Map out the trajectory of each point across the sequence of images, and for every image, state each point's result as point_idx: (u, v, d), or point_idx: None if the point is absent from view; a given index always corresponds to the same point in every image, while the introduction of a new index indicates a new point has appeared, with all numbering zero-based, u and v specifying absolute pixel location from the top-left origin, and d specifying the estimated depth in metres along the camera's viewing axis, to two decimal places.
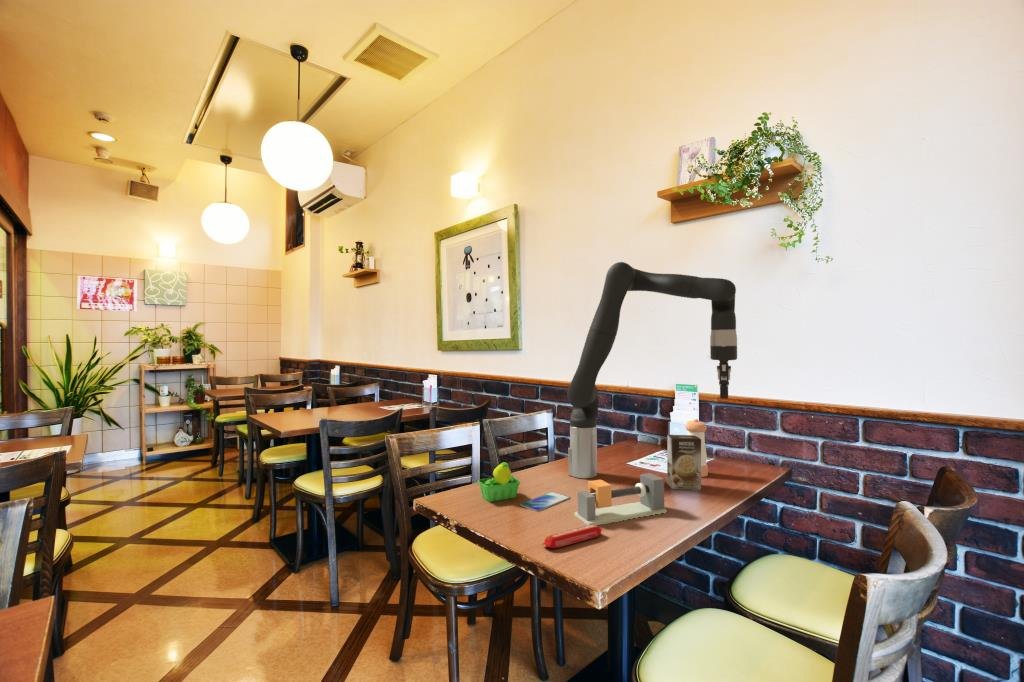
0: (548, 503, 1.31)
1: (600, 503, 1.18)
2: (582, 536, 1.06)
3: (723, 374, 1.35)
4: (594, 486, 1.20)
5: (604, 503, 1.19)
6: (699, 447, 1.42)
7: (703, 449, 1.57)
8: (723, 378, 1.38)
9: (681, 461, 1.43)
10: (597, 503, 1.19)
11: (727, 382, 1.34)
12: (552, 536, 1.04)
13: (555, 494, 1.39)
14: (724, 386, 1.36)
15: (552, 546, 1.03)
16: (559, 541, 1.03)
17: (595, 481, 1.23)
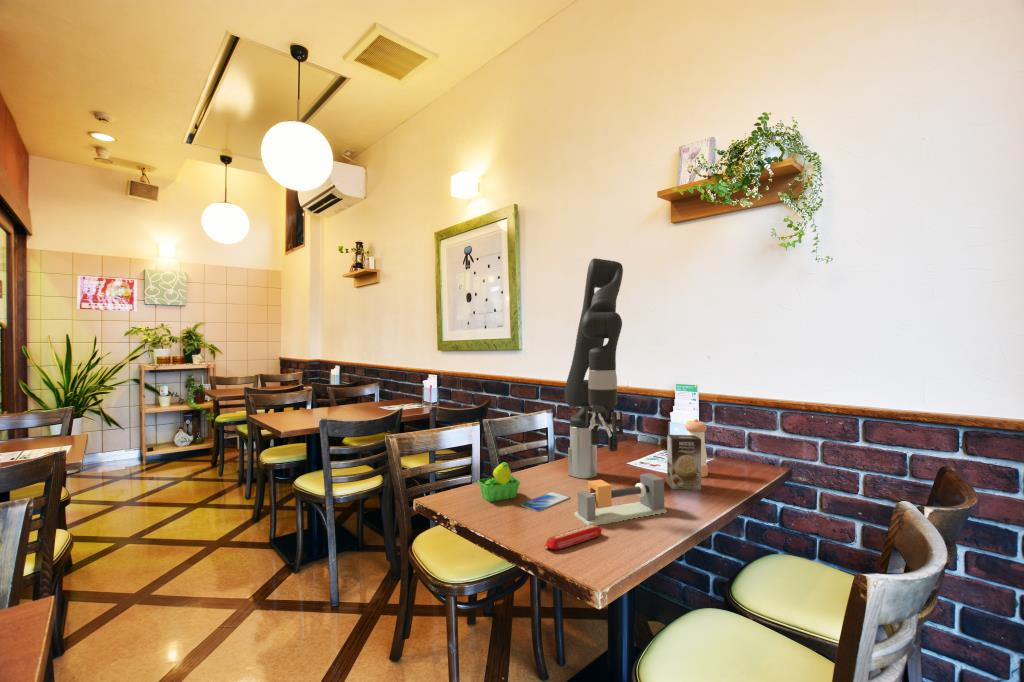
0: (548, 503, 1.31)
1: (600, 503, 1.18)
2: (583, 536, 1.06)
3: None
4: (594, 486, 1.20)
5: (604, 503, 1.19)
6: (699, 447, 1.42)
7: (703, 449, 1.57)
8: None
9: (681, 461, 1.43)
10: (597, 503, 1.19)
11: None
12: (554, 537, 1.04)
13: (555, 494, 1.39)
14: None
15: (554, 547, 1.02)
16: (561, 542, 1.03)
17: (595, 481, 1.23)
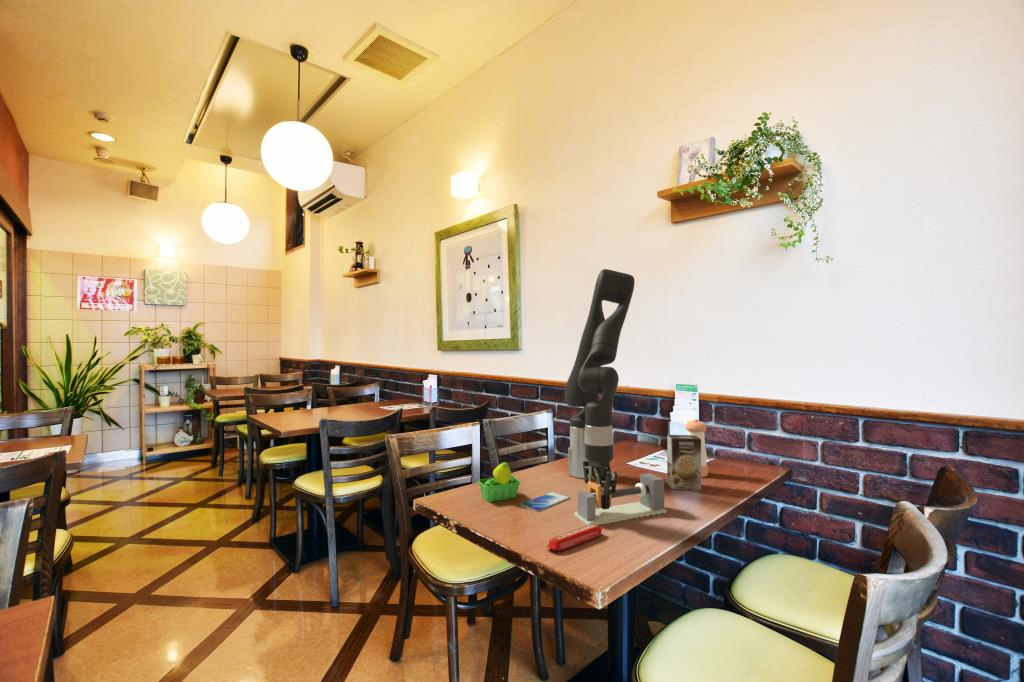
0: (548, 503, 1.31)
1: (600, 503, 1.18)
2: (584, 536, 1.06)
3: None
4: (594, 486, 1.20)
5: None
6: (699, 447, 1.42)
7: (703, 449, 1.57)
8: None
9: (681, 461, 1.43)
10: (597, 503, 1.19)
11: None
12: (556, 538, 1.03)
13: (555, 494, 1.39)
14: None
15: (557, 549, 1.01)
16: (563, 543, 1.02)
17: (595, 481, 1.23)
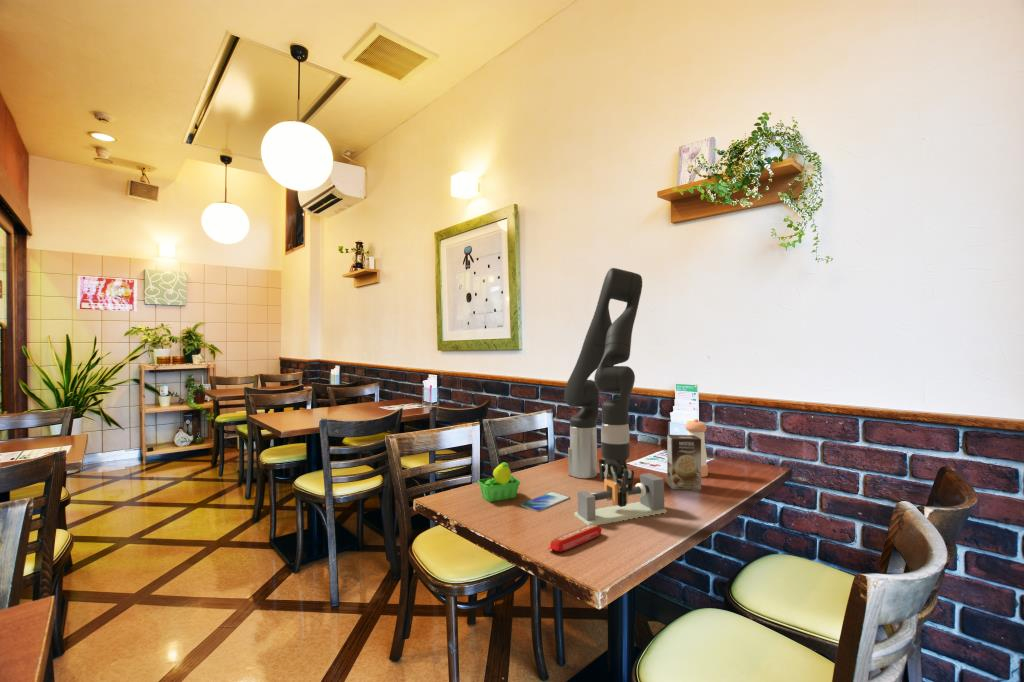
0: (548, 503, 1.31)
1: (617, 500, 1.20)
2: (585, 537, 1.06)
3: None
4: (611, 484, 1.22)
5: None
6: (699, 447, 1.42)
7: (703, 449, 1.57)
8: None
9: (681, 461, 1.43)
10: (614, 500, 1.20)
11: None
12: (558, 539, 1.03)
13: (555, 494, 1.39)
14: None
15: (560, 549, 1.01)
16: (566, 544, 1.02)
17: (611, 479, 1.25)
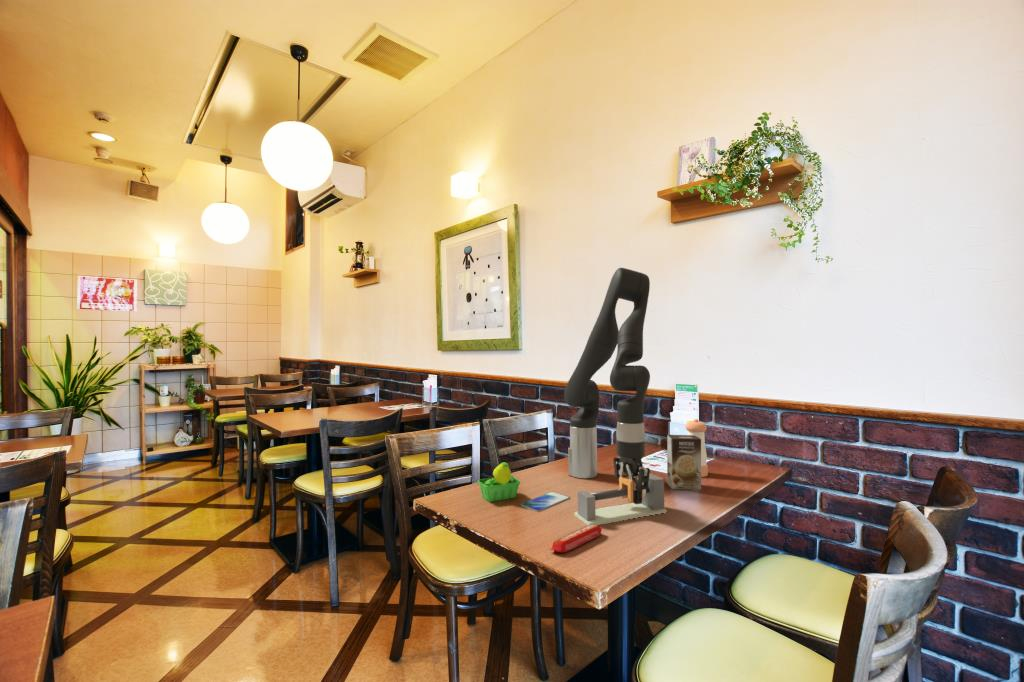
0: (548, 503, 1.31)
1: (632, 498, 1.22)
2: (586, 537, 1.06)
3: None
4: (626, 482, 1.23)
5: None
6: (699, 447, 1.42)
7: (703, 449, 1.57)
8: None
9: (681, 461, 1.43)
10: (629, 498, 1.22)
11: None
12: (560, 540, 1.02)
13: (555, 494, 1.39)
14: None
15: (562, 550, 1.01)
16: (568, 544, 1.02)
17: (626, 477, 1.26)
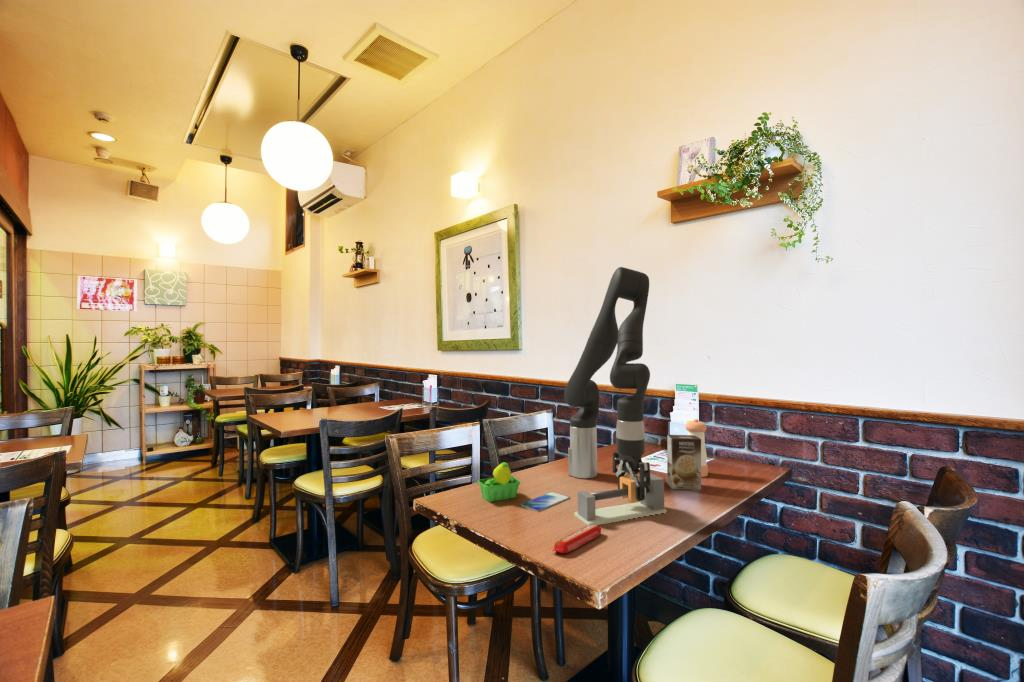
0: (548, 503, 1.31)
1: (633, 498, 1.22)
2: (587, 537, 1.06)
3: None
4: (626, 481, 1.23)
5: None
6: (699, 447, 1.42)
7: (703, 449, 1.57)
8: None
9: (681, 461, 1.43)
10: (630, 498, 1.22)
11: None
12: (562, 541, 1.02)
13: (555, 494, 1.39)
14: None
15: (565, 551, 1.00)
16: (570, 545, 1.01)
17: (627, 477, 1.26)
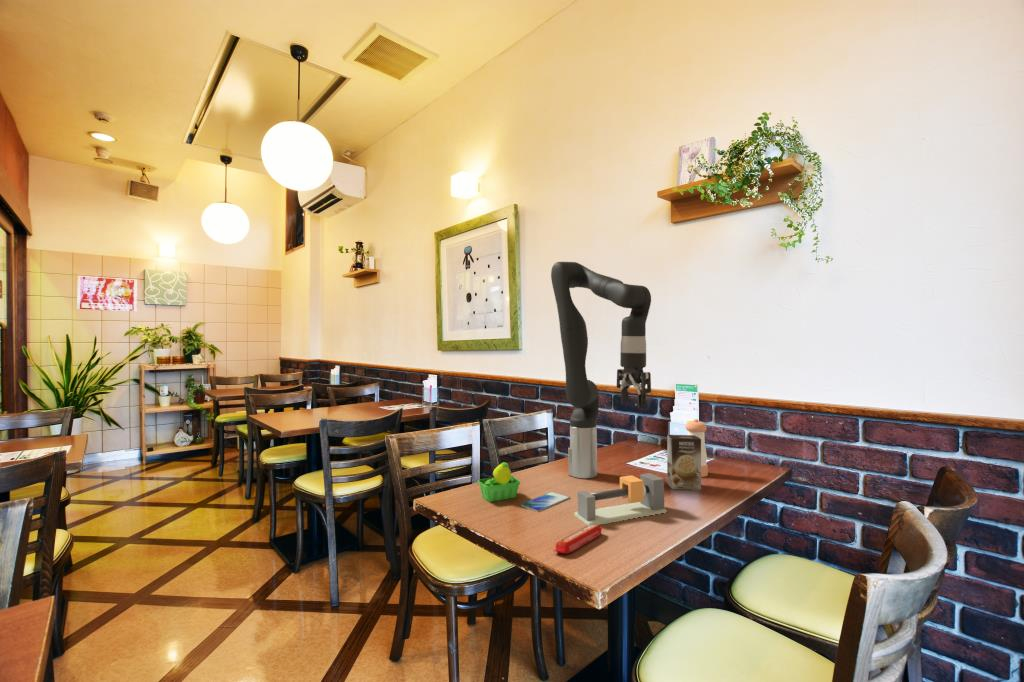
0: (549, 503, 1.31)
1: (633, 498, 1.22)
2: (588, 537, 1.06)
3: None
4: (626, 481, 1.23)
5: (636, 498, 1.22)
6: (699, 447, 1.42)
7: (703, 449, 1.57)
8: None
9: (681, 461, 1.43)
10: (630, 498, 1.22)
11: None
12: (564, 541, 1.02)
13: (555, 494, 1.39)
14: None
15: (566, 551, 1.00)
16: (571, 545, 1.01)
17: (627, 477, 1.26)
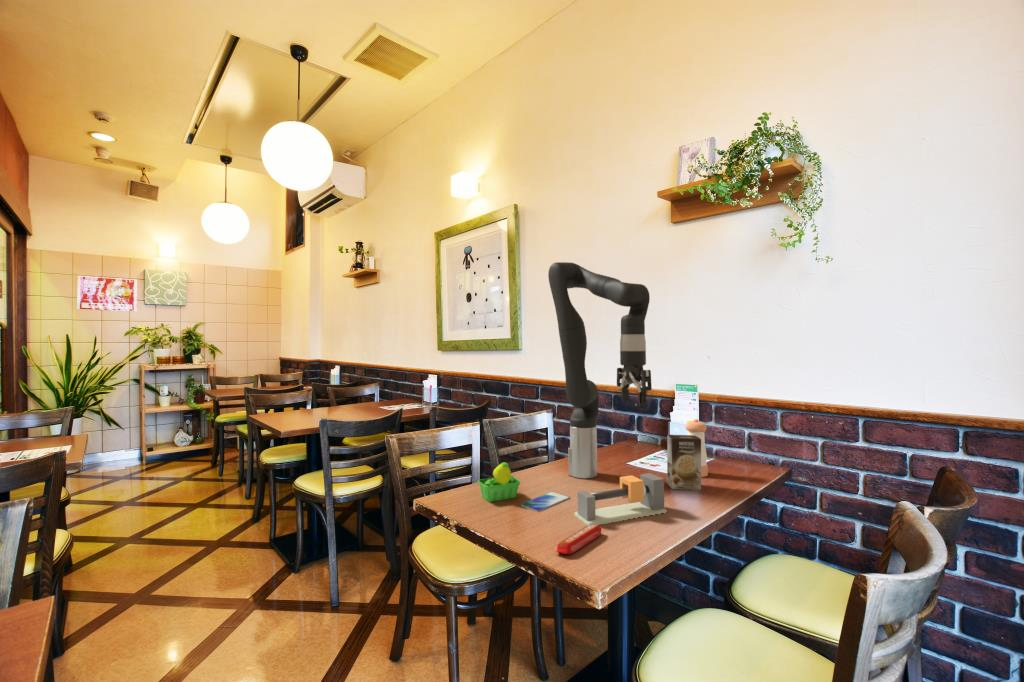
0: (549, 503, 1.31)
1: (633, 498, 1.22)
2: (589, 537, 1.06)
3: None
4: (626, 481, 1.23)
5: (636, 498, 1.22)
6: (699, 447, 1.42)
7: (703, 449, 1.57)
8: None
9: (681, 461, 1.43)
10: (630, 498, 1.22)
11: None
12: (565, 542, 1.01)
13: (555, 494, 1.39)
14: None
15: (568, 552, 1.00)
16: (573, 546, 1.01)
17: (627, 477, 1.26)
